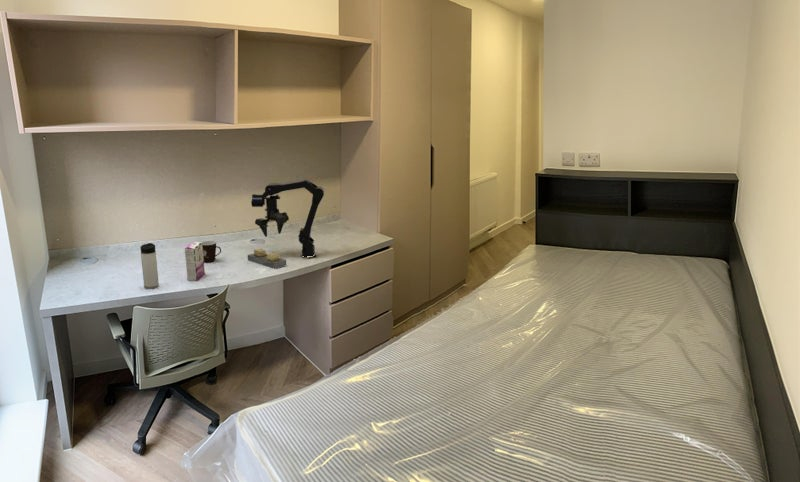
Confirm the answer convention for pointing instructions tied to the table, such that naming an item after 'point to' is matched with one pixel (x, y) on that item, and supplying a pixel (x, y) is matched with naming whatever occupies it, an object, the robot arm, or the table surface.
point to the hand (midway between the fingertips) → (272, 235)
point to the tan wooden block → (272, 257)
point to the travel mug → (149, 266)
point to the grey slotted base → (266, 261)
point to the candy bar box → (194, 261)
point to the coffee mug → (209, 251)
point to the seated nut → (259, 252)
